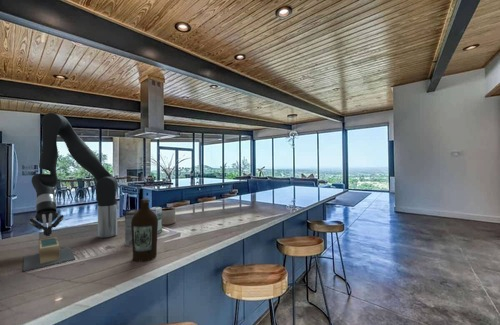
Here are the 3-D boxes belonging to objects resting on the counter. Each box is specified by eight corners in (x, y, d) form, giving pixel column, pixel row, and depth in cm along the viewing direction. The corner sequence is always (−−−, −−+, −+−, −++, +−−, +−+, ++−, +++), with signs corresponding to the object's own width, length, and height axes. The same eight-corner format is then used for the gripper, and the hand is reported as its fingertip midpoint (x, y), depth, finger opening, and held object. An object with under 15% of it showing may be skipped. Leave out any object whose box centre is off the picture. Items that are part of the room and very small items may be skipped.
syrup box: (156, 234, 136) (156, 208, 136) (147, 233, 137) (147, 208, 137) (162, 231, 142) (162, 207, 142) (153, 230, 143) (153, 206, 143)
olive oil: (134, 253, 107) (134, 198, 107) (159, 251, 109) (159, 197, 109) (128, 263, 96) (127, 201, 96) (156, 260, 99) (155, 200, 99)
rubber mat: (24, 257, 103) (24, 256, 103) (70, 248, 114) (70, 247, 114) (23, 271, 89) (23, 270, 89) (75, 259, 100) (75, 258, 100)
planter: (155, 225, 156) (155, 210, 156) (163, 221, 167) (163, 207, 167) (170, 225, 155) (170, 211, 155) (178, 221, 165) (178, 207, 165)
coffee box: (132, 239, 126) (131, 209, 126) (144, 239, 126) (144, 209, 127) (124, 245, 117) (124, 213, 117) (137, 245, 117) (137, 212, 117)
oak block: (39, 239, 107) (40, 248, 95) (56, 236, 111) (59, 245, 99) (39, 252, 107) (40, 263, 95) (56, 249, 111) (59, 259, 99)
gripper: (28, 201, 111) (28, 233, 102) (63, 198, 120) (66, 227, 111) (28, 211, 115) (28, 242, 106) (62, 207, 124) (65, 236, 115)
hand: (47, 235), depth 109 cm, fingers closed
